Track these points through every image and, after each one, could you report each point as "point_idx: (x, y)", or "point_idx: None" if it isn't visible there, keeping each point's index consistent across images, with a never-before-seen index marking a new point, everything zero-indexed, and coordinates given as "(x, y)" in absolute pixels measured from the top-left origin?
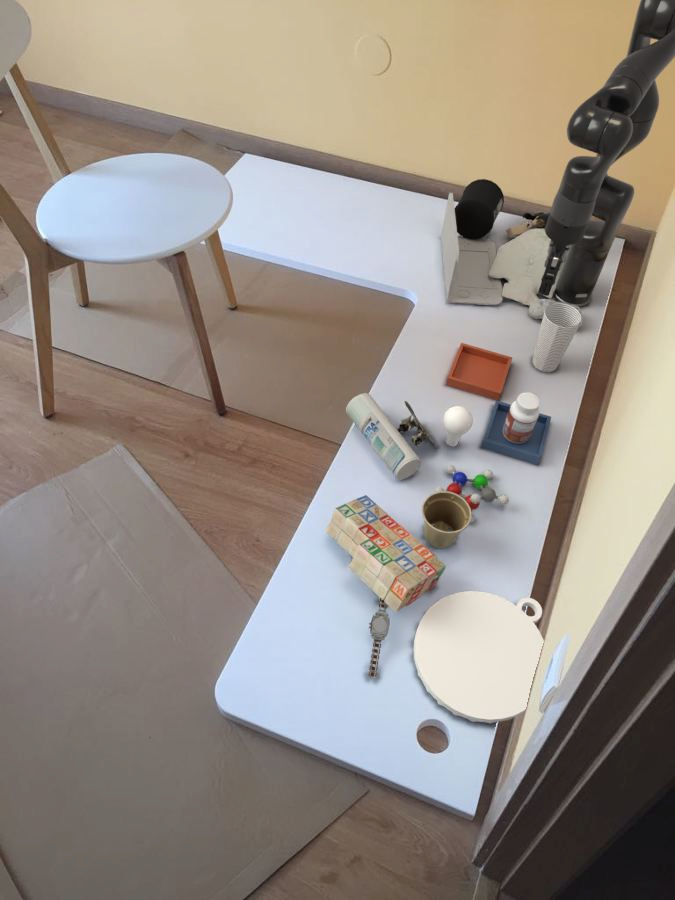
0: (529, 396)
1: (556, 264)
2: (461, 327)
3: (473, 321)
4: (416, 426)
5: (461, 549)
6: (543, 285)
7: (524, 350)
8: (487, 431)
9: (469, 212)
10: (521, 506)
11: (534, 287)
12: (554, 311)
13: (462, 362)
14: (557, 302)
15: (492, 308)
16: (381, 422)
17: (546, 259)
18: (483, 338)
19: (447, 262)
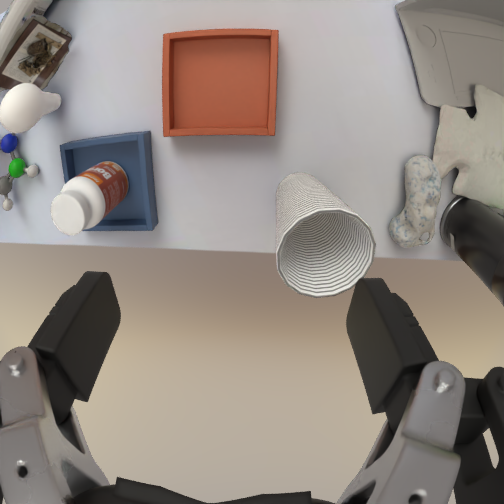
0: (75, 214)
1: (360, 354)
2: (344, 32)
3: (369, 53)
4: (45, 48)
5: None
6: (41, 332)
7: (323, 154)
8: (75, 144)
9: None
10: (28, 219)
11: (466, 164)
12: (359, 225)
13: (237, 46)
14: (434, 207)
15: (414, 89)
16: (7, 17)
17: (3, 488)
18: (329, 74)
19: (470, 6)
